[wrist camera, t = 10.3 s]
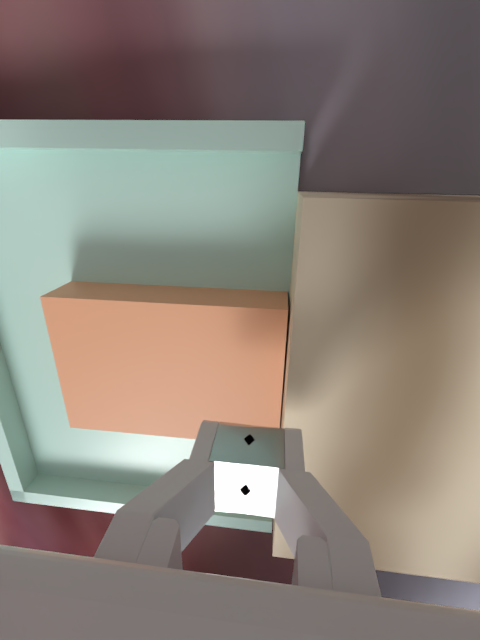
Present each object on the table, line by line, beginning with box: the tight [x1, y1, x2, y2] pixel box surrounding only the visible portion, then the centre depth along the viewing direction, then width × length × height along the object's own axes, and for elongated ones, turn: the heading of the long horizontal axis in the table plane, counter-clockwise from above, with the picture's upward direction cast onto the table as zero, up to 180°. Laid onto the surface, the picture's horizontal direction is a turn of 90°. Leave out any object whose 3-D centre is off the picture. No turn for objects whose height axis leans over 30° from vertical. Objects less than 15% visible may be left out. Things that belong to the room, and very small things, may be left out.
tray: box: [0, 120, 305, 533], centre depth 15 cm, size 14×18×2 cm
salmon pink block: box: [40, 281, 288, 439], centre depth 14 cm, size 9×6×2 cm, turn 90°
